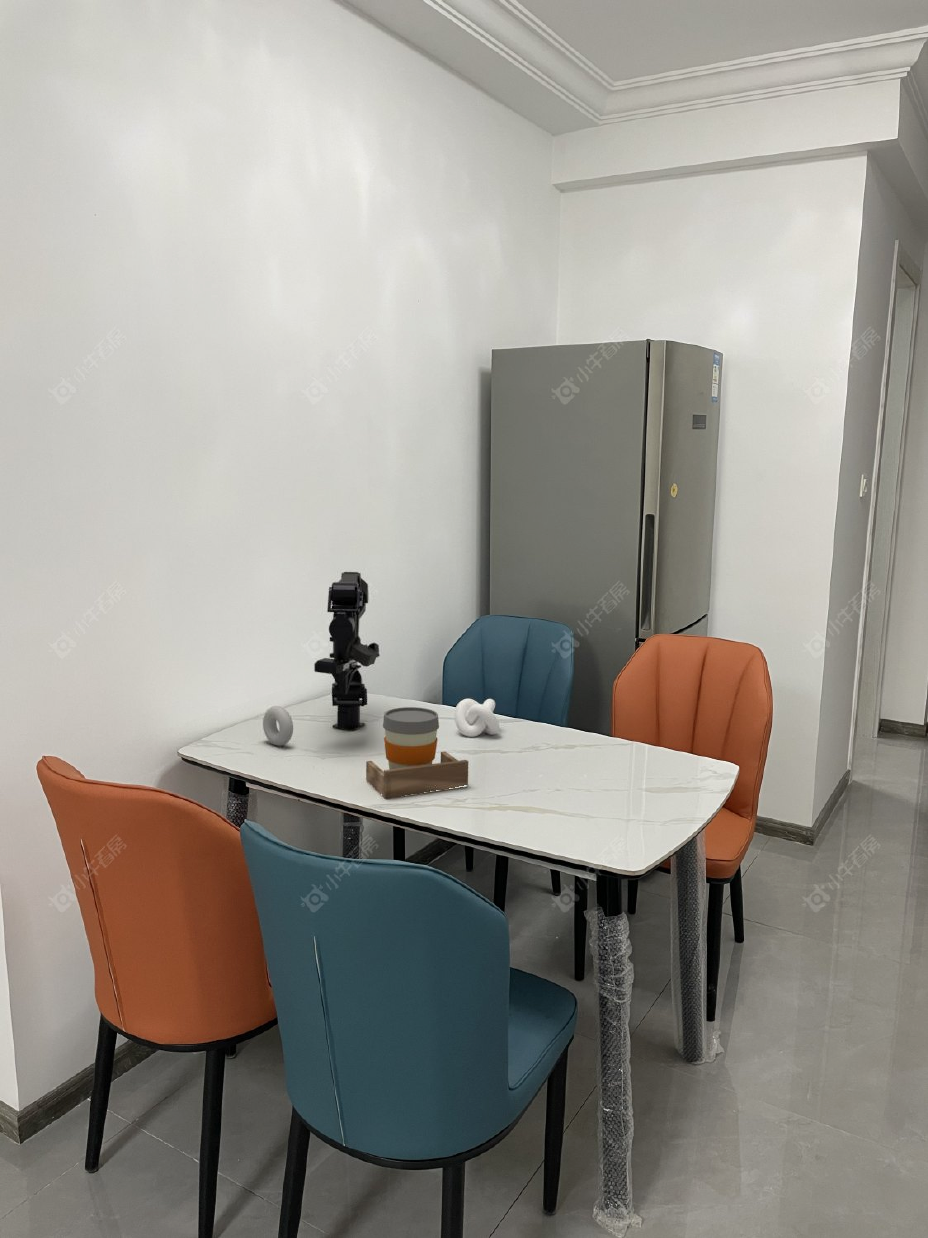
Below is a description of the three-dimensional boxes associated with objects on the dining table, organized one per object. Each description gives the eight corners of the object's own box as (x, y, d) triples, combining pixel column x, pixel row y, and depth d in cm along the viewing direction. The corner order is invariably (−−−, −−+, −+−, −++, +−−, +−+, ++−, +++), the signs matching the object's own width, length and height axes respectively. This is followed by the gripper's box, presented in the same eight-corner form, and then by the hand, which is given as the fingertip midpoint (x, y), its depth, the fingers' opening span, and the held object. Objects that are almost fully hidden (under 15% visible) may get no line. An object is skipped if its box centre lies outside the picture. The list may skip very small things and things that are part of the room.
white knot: (459, 741, 241) (460, 707, 239) (449, 728, 252) (450, 695, 251) (502, 739, 244) (503, 706, 242) (490, 726, 255) (491, 694, 253)
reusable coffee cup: (370, 778, 213) (371, 713, 210) (410, 765, 222) (411, 703, 219) (409, 792, 204) (410, 725, 202) (449, 779, 213) (450, 715, 211)
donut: (296, 748, 232) (296, 709, 230) (285, 751, 230) (284, 711, 228) (271, 739, 239) (270, 701, 237) (260, 742, 236) (259, 703, 234)
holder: (366, 780, 211) (366, 754, 210) (445, 770, 219) (445, 745, 218) (385, 799, 200) (385, 772, 199) (467, 787, 208) (468, 761, 207)
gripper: (353, 642, 221) (352, 707, 224) (391, 630, 238) (390, 690, 241) (313, 638, 226) (313, 701, 228) (353, 625, 242) (353, 684, 245)
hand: (344, 694), depth 236 cm, fingers closed
